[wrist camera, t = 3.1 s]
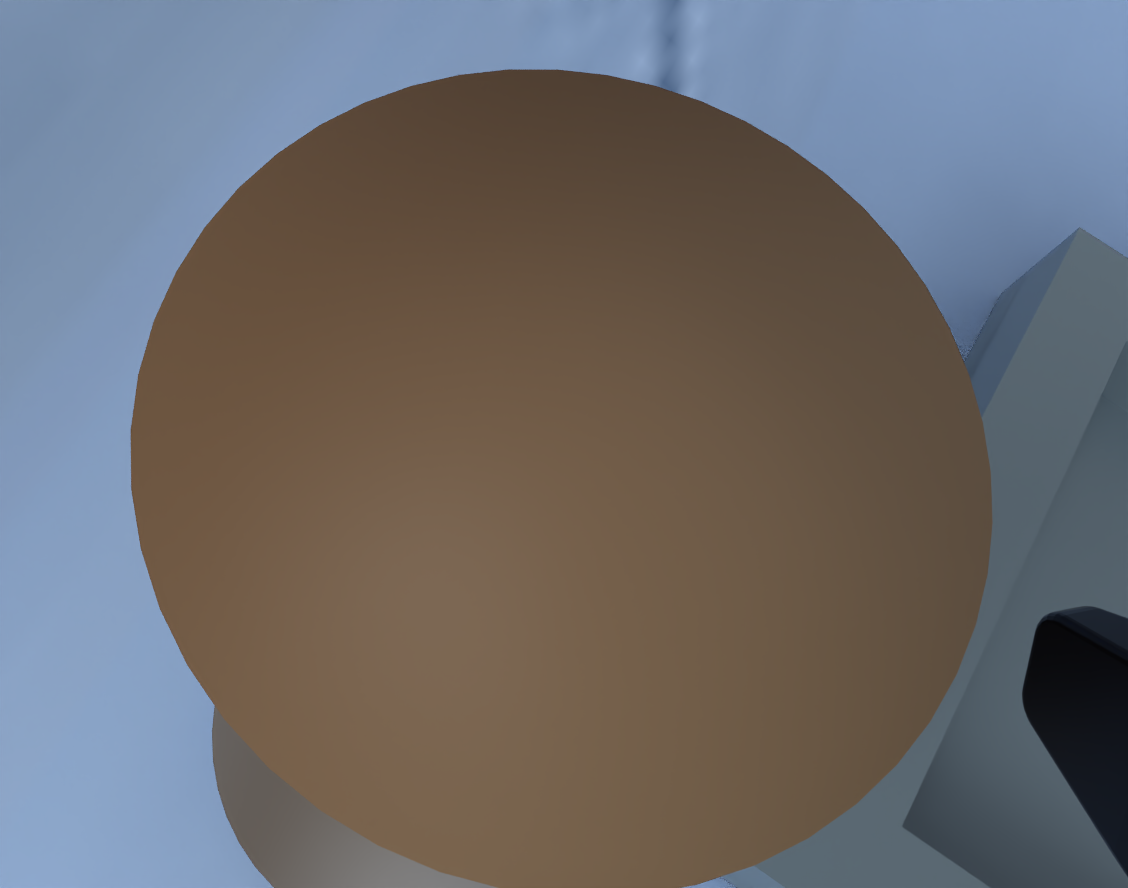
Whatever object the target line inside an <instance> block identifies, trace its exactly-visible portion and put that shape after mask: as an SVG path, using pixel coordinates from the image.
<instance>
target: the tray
mask: <svg viewBox="0 0 1128 888" xmlns="http://www.w3.org/2000/svg"><path fill="white" fill-rule="evenodd" d="M964 364H965V366H966V368H967V371H968V373H969V376H970V380H971V383H972V387H973V390H974V394H975V397H976V400H977V404H978V407H979V411H980V414H981V418H982V421H983V427H984V433H985V439H986V445H987V451H988V457H989V464H990V470H991V490H992V519H993V524H992V535H991V545H990V556H989V566H988V575H987V579H986V584H985V588H984V592H983V597H982V601H981V605H980V609H979V614H978V618H977V622H976V626H975V629H974V631H973V634H972V636H971V639H970V641H969V644H968V647H967V649H966V652H965V654H964V657H963V660H962V662H961V665H960V667H959V670H958V673H957V675H956V677H955V678H954V680H953V682H952V684H951V686H950V687H949V689H948V691H947V693H946V695H945V696H944V698H943V700H942V702H941V703H940V705H939V707H938V709H937V711H936V712H935V714H934V716H933V718H932V720H931V721H930V723H929V724H928V725H927V727H926V728H925V729H924V730H923V732H922V733H921V734H920V736H919V737H918V738H917V740H916V741H915V742H914V743H913V745H912V746H911V747H910V749H909V750H908V751H907V753H906V754H905V755H904V756H903V758H902V759H901V760H900V762H899V763H898V764H897V765H896V766H895V767H894V768H893V769H892V770H891V771H890V772H889V773H888V774H887V775H886V776H885V777H884V778H883V779H882V780H881V781H880V782H879V783H878V784H877V785H876V786H875V787H874V788H873V789H872V790H871V791H869V792H868V793H867V794H866V795H865V796H864V797H863V798H862V799H861V800H860V801H859V802H858V803H857V804H856V805H855V806H853V807H852V808H850V809H849V810H848V811H846V812H845V813H843V814H842V815H841V816H839V817H838V818H836V819H835V820H834V821H832V822H831V823H829V824H828V825H826V826H825V827H824V828H822V829H821V830H819V831H818V832H817V833H815V834H814V835H812V836H811V837H810V838H808V839H806V840H804V841H802V842H800V843H798V844H796V845H794V846H792V847H790V848H788V849H786V850H784V851H782V852H780V853H778V854H776V855H774V856H773V857H771V858H769V859H767V860H765V861H763V862H761V863H759V864H757V865H755V866H752V867H749V868H746V869H743V870H739V871H736V872H733V873H730V874H727V875H724V876H721V877H722V878H723V879H725V880H726V881H728V882H729V883H730V884H732V885H733V886H735V887H736V888H1128V877H1127V876H1126V874H1125V873H1124V871H1123V870H1122V868H1121V867H1120V865H1119V864H1118V862H1117V861H1116V859H1115V858H1114V856H1113V855H1112V853H1111V851H1110V850H1109V848H1108V847H1107V845H1106V843H1105V842H1104V840H1103V839H1102V837H1101V835H1100V834H1099V832H1098V831H1097V829H1096V828H1095V826H1094V824H1093V823H1092V821H1091V820H1090V818H1089V816H1088V815H1087V813H1086V812H1085V810H1084V808H1083V807H1082V805H1081V804H1080V802H1079V801H1078V799H1077V797H1076V796H1075V794H1074V793H1073V791H1072V789H1071V788H1070V786H1069V785H1068V783H1067V781H1066V780H1065V778H1064V777H1063V775H1062V774H1061V772H1060V770H1059V769H1058V767H1057V766H1056V764H1055V762H1054V761H1053V759H1052V758H1051V756H1050V754H1049V753H1048V751H1047V750H1046V748H1045V746H1044V745H1043V743H1042V742H1041V740H1040V739H1039V737H1038V735H1037V734H1036V732H1035V731H1034V729H1033V727H1032V726H1031V724H1030V722H1029V720H1028V718H1027V716H1026V713H1025V711H1024V707H1023V702H1022V688H1023V683H1024V678H1025V674H1026V669H1027V665H1028V660H1029V656H1030V651H1031V647H1032V642H1033V638H1034V633H1035V629H1036V626H1037V624H1038V623H1039V621H1040V620H1041V619H1042V617H1043V616H1045V615H1047V614H1048V613H1051V612H1055V611H1060V610H1065V609H1070V608H1075V607H1080V606H1094V607H1098V608H1101V609H1104V610H1106V611H1109V612H1112V613H1115V614H1118V615H1121V616H1123V617H1126V618H1128V258H1126V257H1125V256H1123V255H1122V254H1120V253H1119V252H1117V251H1115V250H1114V249H1112V248H1111V247H1109V246H1108V245H1106V244H1105V243H1103V242H1102V241H1100V240H1099V239H1097V238H1095V237H1094V236H1092V235H1091V234H1089V233H1088V232H1086V231H1085V230H1083V229H1082V228H1078V229H1077V230H1076V231H1075V232H1074V233H1072V234H1071V235H1070V236H1069V237H1068V238H1067V239H1065V240H1064V241H1063V242H1062V243H1061V244H1059V245H1058V246H1057V247H1056V248H1055V249H1054V250H1052V251H1051V252H1050V253H1049V254H1048V255H1046V256H1045V257H1044V258H1043V259H1042V260H1041V261H1039V262H1038V263H1037V264H1036V265H1035V266H1033V267H1032V268H1031V269H1030V270H1029V271H1027V272H1026V273H1025V274H1024V275H1023V276H1022V277H1020V278H1019V279H1018V280H1017V281H1016V282H1014V283H1013V284H1012V285H1011V286H1010V287H1009V288H1007V289H1006V290H1005V291H1004V292H1003V293H1002V294H1001V295H1000V297H999V299H998V301H997V303H996V305H995V307H994V308H993V310H992V312H991V314H990V316H989V318H988V320H987V321H986V323H985V325H984V327H983V329H982V331H981V333H980V334H979V336H978V338H977V340H976V342H975V344H974V346H973V347H972V349H971V351H970V353H969V355H968V357H967V359H966V360H965V362H964Z"/></svg>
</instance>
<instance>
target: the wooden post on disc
mask: <svg viewBox="0 0 1128 888" xmlns="http://www.w3.org/2000/svg"><path fill="white" fill-rule="evenodd" d="M131 490H132V496H133V502H134V509H135V515H136V521H137V527H138V533H139V540H140V546H141V551H142V554H143V557H144V560H145V563H146V566H147V569H148V573H149V576H150V579H151V582H152V585H153V588H154V592H155V595H156V598H157V601H158V604H159V607H160V610H161V612H162V614H163V616H164V618H165V620H166V622H167V624H168V626H169V628H170V630H171V632H172V634H173V636H174V639H175V641H176V643H177V645H178V647H179V649H180V651H181V653H182V655H183V657H184V659H185V661H186V663H187V665H188V667H189V668H190V670H191V671H192V673H193V674H194V676H195V677H196V679H197V680H198V682H199V683H200V684H201V686H202V687H203V689H204V690H205V692H206V693H207V695H208V696H209V698H210V699H211V701H212V702H213V704H214V705H215V708H214V718H213V728H212V743H213V763H214V769H215V775H216V780H217V786H218V791H219V794H220V797H221V800H222V803H223V807H224V810H225V813H226V816H227V818H228V820H229V822H230V825H231V827H232V829H233V831H234V833H235V835H236V837H237V839H238V841H239V843H240V845H241V846H242V848H243V849H244V851H245V852H246V854H247V855H248V857H249V858H250V860H251V861H252V863H253V864H254V866H255V867H256V868H257V869H258V870H259V872H260V873H261V874H262V875H263V876H264V877H265V878H266V879H267V881H268V882H269V883H270V884H271V885H272V886H273V887H274V888H681V887H686V886H692V885H697V884H700V883H703V882H706V881H709V880H712V879H715V878H718V877H721V876H724V875H727V874H730V873H733V872H736V871H739V870H743V869H746V868H749V867H752V866H755V865H757V864H759V863H761V862H763V861H765V860H767V859H769V858H771V857H773V856H774V855H776V854H778V853H780V852H782V851H784V850H786V849H788V848H790V847H792V846H794V845H796V844H798V843H800V842H802V841H804V840H806V839H808V838H810V837H811V836H812V835H814V834H815V833H817V832H818V831H819V830H821V829H822V828H824V827H825V826H826V825H828V824H829V823H831V822H832V821H834V820H835V819H836V818H838V817H839V816H841V815H842V814H843V813H845V812H846V811H848V810H849V809H850V808H852V807H853V806H855V805H856V804H857V803H858V802H859V801H860V800H861V799H862V798H863V797H864V796H865V795H866V794H867V793H868V792H869V791H871V790H872V789H873V788H874V787H875V786H876V785H877V784H878V783H879V782H880V781H881V780H882V779H883V778H884V777H885V776H886V775H887V774H888V773H889V772H890V771H891V770H892V769H893V768H894V767H895V766H896V765H897V764H898V763H899V762H900V760H901V759H902V758H903V756H904V755H905V754H906V753H907V751H908V750H909V749H910V747H911V746H912V745H913V743H914V742H915V741H916V740H917V738H918V737H919V736H920V734H921V733H922V732H923V730H924V729H925V728H926V727H927V725H928V724H929V723H930V721H931V720H932V718H933V716H934V714H935V712H936V711H937V709H938V707H939V705H940V703H941V702H942V700H943V698H944V696H945V695H946V693H947V691H948V689H949V687H950V686H951V684H952V682H953V680H954V678H955V677H956V675H957V673H958V670H959V667H960V665H961V662H962V660H963V657H964V654H965V652H966V649H967V647H968V644H969V641H970V639H971V636H972V634H973V631H974V629H975V626H976V622H977V618H978V614H979V609H980V605H981V601H982V597H983V592H984V588H985V584H986V579H987V575H988V566H989V556H990V545H991V535H992V524H993V519H992V490H991V470H990V464H989V457H988V451H987V445H986V439H985V433H984V427H983V421H982V418H981V414H980V411H979V407H978V404H977V400H976V397H975V394H974V390H973V387H972V383H971V380H970V376H969V373H968V371H967V368H966V366H965V364H964V361H963V359H962V357H961V354H960V352H959V349H958V347H957V345H956V342H955V340H954V338H953V335H952V333H951V330H950V328H949V326H948V325H947V323H946V321H945V319H944V317H943V316H942V314H941V312H940V310H939V309H938V307H937V305H936V303H935V301H934V300H933V298H932V296H931V294H930V292H929V291H928V289H927V287H926V285H925V284H924V282H923V281H922V280H921V278H920V277H919V276H918V274H917V273H916V271H915V270H914V269H913V267H912V266H911V264H910V263H909V262H908V260H907V259H906V257H905V256H904V255H903V253H902V252H901V250H900V249H899V248H898V246H897V245H896V244H895V243H894V241H893V240H892V239H891V238H890V237H889V236H888V235H887V234H886V232H885V231H884V230H883V229H882V228H881V227H880V226H879V225H878V224H877V222H876V221H875V220H874V219H873V218H872V217H871V216H870V215H869V213H868V212H867V211H866V210H865V209H864V208H863V207H862V206H861V205H860V204H859V203H858V202H856V201H855V200H854V199H853V198H852V197H851V196H850V195H849V194H848V193H846V192H845V191H844V190H843V189H842V188H841V187H840V186H839V185H838V184H837V183H835V182H834V181H833V180H832V179H831V178H830V177H829V176H828V175H826V174H825V173H824V172H822V171H821V170H820V169H818V168H817V167H816V166H814V165H813V164H811V163H810V162H809V161H807V160H806V159H805V158H803V157H802V156H800V155H799V154H798V153H796V152H795V151H794V150H792V149H791V148H790V147H788V146H787V145H785V144H783V143H781V142H780V141H778V140H776V139H775V138H773V137H771V136H769V135H768V134H766V133H764V132H763V131H761V130H759V129H757V128H756V127H754V126H752V125H751V124H749V123H747V122H746V121H743V120H741V119H739V118H737V117H735V116H732V115H730V114H728V113H726V112H723V111H721V110H719V109H717V108H715V107H712V106H710V105H708V104H706V103H704V102H701V101H699V100H696V99H693V98H690V97H687V96H684V95H681V94H678V93H675V92H672V91H669V90H666V89H663V88H660V87H657V86H653V85H649V84H644V83H640V82H635V81H631V80H626V79H622V78H617V77H612V76H608V75H600V74H591V73H582V72H573V71H564V70H501V71H492V72H483V73H474V74H464V75H458V76H453V77H449V78H444V79H440V80H436V81H431V82H427V83H422V84H418V85H414V86H410V87H407V88H404V89H402V90H399V91H396V92H393V93H390V94H388V95H385V96H382V97H379V98H376V99H374V100H371V101H368V102H365V103H363V104H361V105H359V106H357V107H355V108H353V109H351V110H349V111H347V112H345V113H343V114H341V115H339V116H337V117H335V118H333V119H331V120H329V121H327V122H325V123H323V124H321V125H319V126H318V127H316V128H315V129H313V130H312V131H310V132H309V133H307V134H306V135H304V136H303V137H301V138H300V139H298V140H297V141H296V142H294V143H293V144H291V145H290V146H288V147H287V148H285V149H284V150H282V151H281V152H279V153H278V154H277V155H275V156H274V157H273V158H272V159H271V160H270V161H269V162H267V163H266V164H265V165H264V166H263V167H262V168H261V169H260V170H258V171H257V172H256V173H255V174H254V175H253V176H252V177H251V178H249V179H248V180H247V181H246V182H245V183H244V184H243V185H241V186H240V187H239V188H238V189H237V191H236V192H235V193H234V194H233V195H232V196H231V198H230V199H229V200H228V201H227V202H226V203H225V205H224V206H223V207H222V208H221V209H220V210H219V212H218V213H217V214H216V215H215V216H214V217H213V218H212V220H211V221H210V222H209V223H208V224H207V225H206V227H205V228H204V230H203V231H202V233H201V234H200V236H199V237H198V239H197V240H196V242H195V244H194V245H193V247H192V248H191V250H190V251H189V253H188V254H187V256H186V258H185V259H184V261H183V262H182V264H181V265H180V267H179V268H178V270H177V272H176V274H175V276H174V278H173V280H172V283H171V285H170V287H169V289H168V291H167V293H166V296H165V298H164V300H163V302H162V304H161V307H160V309H159V311H158V313H157V315H156V318H155V320H154V322H153V326H152V329H151V333H150V336H149V340H148V343H147V347H146V350H145V353H144V357H143V360H142V364H141V367H140V371H139V374H138V381H137V389H136V396H135V403H134V410H133V418H132V425H131Z"/></svg>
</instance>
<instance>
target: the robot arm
mask: <svg viewBox="0 0 1128 888" xmlns="http://www.w3.org/2000/svg"><path fill="white" fill-rule="evenodd" d="M1022 702H1023V707H1024V711H1025V713H1026V716H1027V718H1028V720H1029V722H1030V724H1031V726H1032V727H1033V729H1034V731H1035V732H1036V734H1037V735H1038V737H1039V739H1040V740H1041V742H1042V743H1043V745H1044V746H1045V748H1046V750H1047V751H1048V753H1049V754H1050V756H1051V758H1052V759H1053V761H1054V762H1055V764H1056V766H1057V767H1058V769H1059V770H1060V772H1061V774H1062V775H1063V777H1064V778H1065V780H1066V781H1067V783H1068V785H1069V786H1070V788H1071V789H1072V791H1073V793H1074V794H1075V796H1076V797H1077V799H1078V801H1079V802H1080V804H1081V805H1082V807H1083V808H1084V810H1085V812H1086V813H1087V815H1088V816H1089V818H1090V820H1091V821H1092V823H1093V824H1094V826H1095V828H1096V829H1097V831H1098V832H1099V834H1100V835H1101V837H1102V839H1103V840H1104V842H1105V843H1106V845H1107V847H1108V848H1109V850H1110V851H1111V853H1112V855H1113V856H1114V858H1115V859H1116V861H1117V862H1118V864H1119V865H1120V867H1121V868H1122V870H1123V871H1124V873H1125V874H1126V876H1127V877H1128V618H1126V617H1123V616H1121V615H1118V614H1115V613H1112V612H1109V611H1106V610H1104V609H1101V608H1098V607H1094V606H1080V607H1075V608H1070V609H1065V610H1060V611H1055V612H1051V613H1048V614H1047V615H1045V616H1043V617H1042V619H1041V620H1040V621H1039V623H1038V624H1037V626H1036V629H1035V633H1034V638H1033V642H1032V647H1031V651H1030V656H1029V660H1028V665H1027V669H1026V674H1025V678H1024V683H1023V688H1022Z"/></svg>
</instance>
